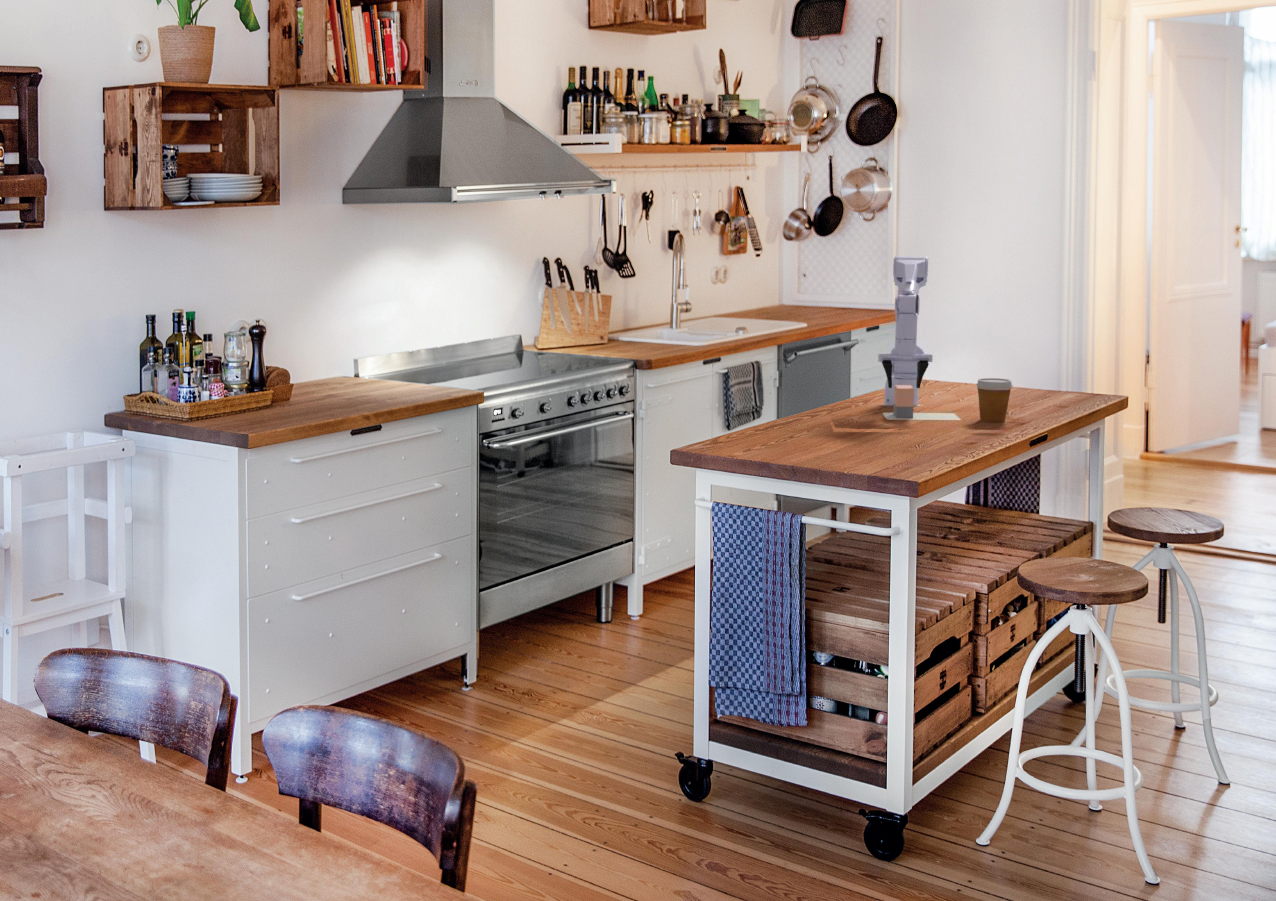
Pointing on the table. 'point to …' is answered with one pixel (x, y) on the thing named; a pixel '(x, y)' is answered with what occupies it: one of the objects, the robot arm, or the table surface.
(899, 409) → the charcoal brick
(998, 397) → the disposable coffee cup
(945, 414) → the baseplate
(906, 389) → the terracotta brick
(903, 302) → the robot arm
